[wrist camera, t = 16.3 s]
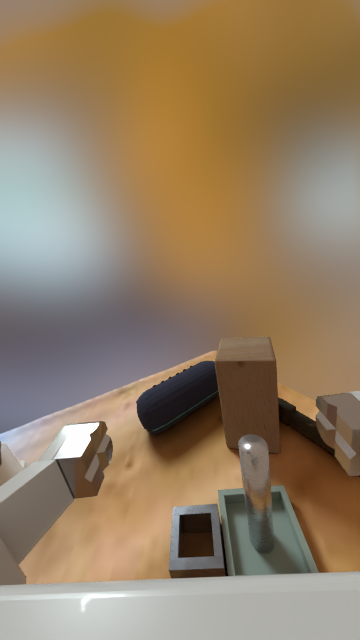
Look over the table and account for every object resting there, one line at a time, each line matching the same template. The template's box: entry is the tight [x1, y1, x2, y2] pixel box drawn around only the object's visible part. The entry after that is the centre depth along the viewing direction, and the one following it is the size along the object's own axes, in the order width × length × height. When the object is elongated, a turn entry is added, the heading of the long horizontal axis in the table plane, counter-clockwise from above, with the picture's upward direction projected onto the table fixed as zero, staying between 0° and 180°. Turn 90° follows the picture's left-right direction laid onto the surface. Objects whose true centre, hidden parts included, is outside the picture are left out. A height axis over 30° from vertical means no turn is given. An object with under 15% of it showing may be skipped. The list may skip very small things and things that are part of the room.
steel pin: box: [238, 434, 275, 554], centre depth 26 cm, size 3×3×16 cm
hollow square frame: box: [169, 504, 226, 579], centre depth 28 cm, size 6×6×4 cm
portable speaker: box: [136, 361, 219, 435], centre depth 54 cm, size 25×10×10 cm, turn 124°
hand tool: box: [278, 398, 360, 476], centre depth 41 cm, size 19×4×5 cm, turn 26°
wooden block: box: [215, 337, 280, 454], centre depth 42 cm, size 10×10×20 cm
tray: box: [218, 485, 319, 576], centre depth 28 cm, size 10×10×2 cm
